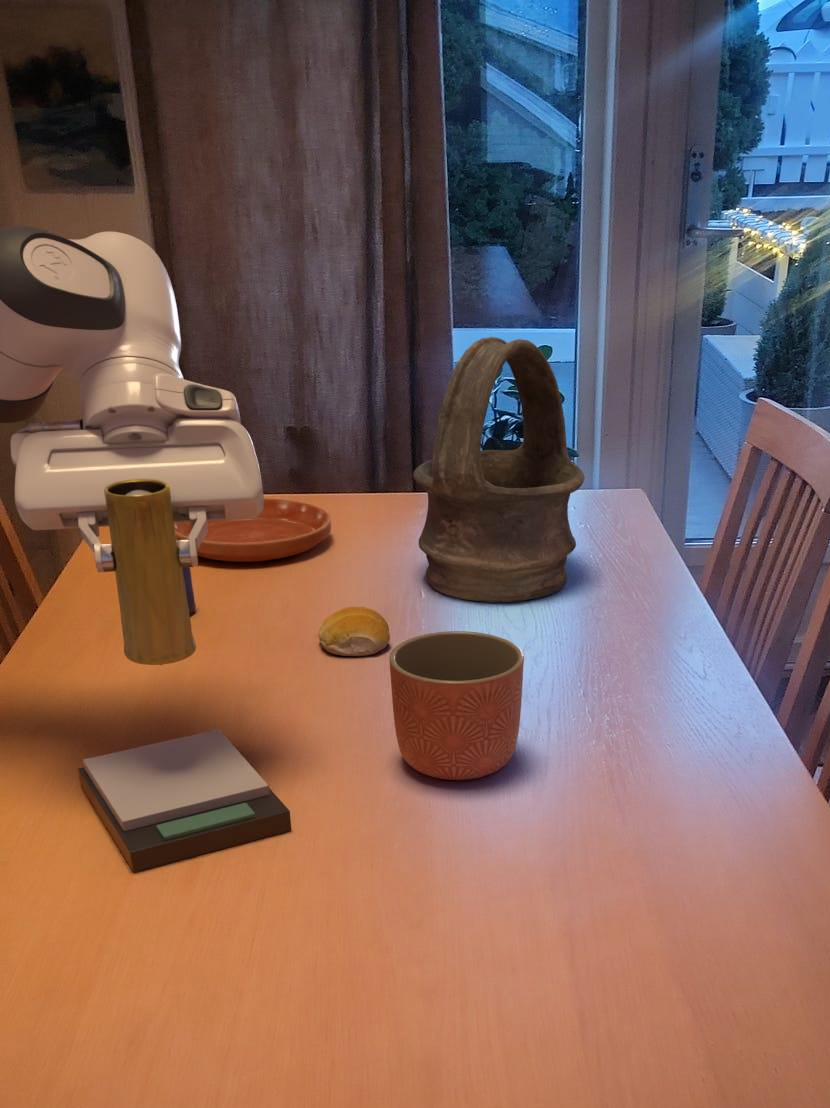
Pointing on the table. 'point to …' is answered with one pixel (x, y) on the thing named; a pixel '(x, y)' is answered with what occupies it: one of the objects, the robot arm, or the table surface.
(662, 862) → the table surface
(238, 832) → the scale
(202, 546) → the saucer
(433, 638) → the planter
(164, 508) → the vase
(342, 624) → the bread roll
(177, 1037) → the table surface
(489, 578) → the clay pot
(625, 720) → the table surface
